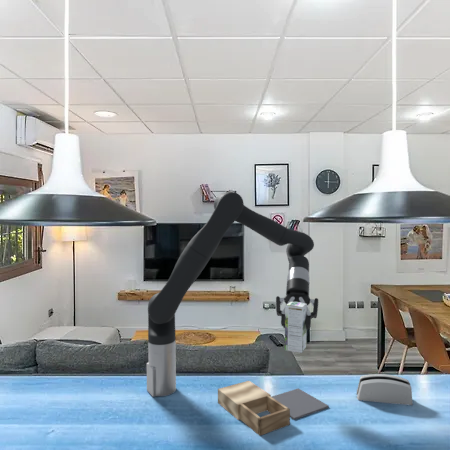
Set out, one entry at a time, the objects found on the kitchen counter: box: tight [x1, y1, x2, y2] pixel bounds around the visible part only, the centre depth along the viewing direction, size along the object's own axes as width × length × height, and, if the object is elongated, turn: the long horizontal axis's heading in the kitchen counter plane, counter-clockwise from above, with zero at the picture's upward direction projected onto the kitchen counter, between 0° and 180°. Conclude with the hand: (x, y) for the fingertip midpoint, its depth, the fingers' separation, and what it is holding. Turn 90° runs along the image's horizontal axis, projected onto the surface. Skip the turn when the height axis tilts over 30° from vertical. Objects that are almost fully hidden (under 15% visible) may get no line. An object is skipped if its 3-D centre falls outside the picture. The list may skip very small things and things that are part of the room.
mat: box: [271, 388, 330, 421], centre depth 120 cm, size 14×14×1 cm
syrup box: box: [284, 302, 308, 354], centre depth 120 cm, size 6×6×14 cm
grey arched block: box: [355, 373, 413, 406], centre depth 122 cm, size 17×5×10 cm, turn 77°
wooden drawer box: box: [217, 380, 291, 436], centre depth 115 cm, size 22×12×4 cm, turn 31°
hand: (295, 327), depth 118 cm, fingers closed on syrup box, 6 cm apart
